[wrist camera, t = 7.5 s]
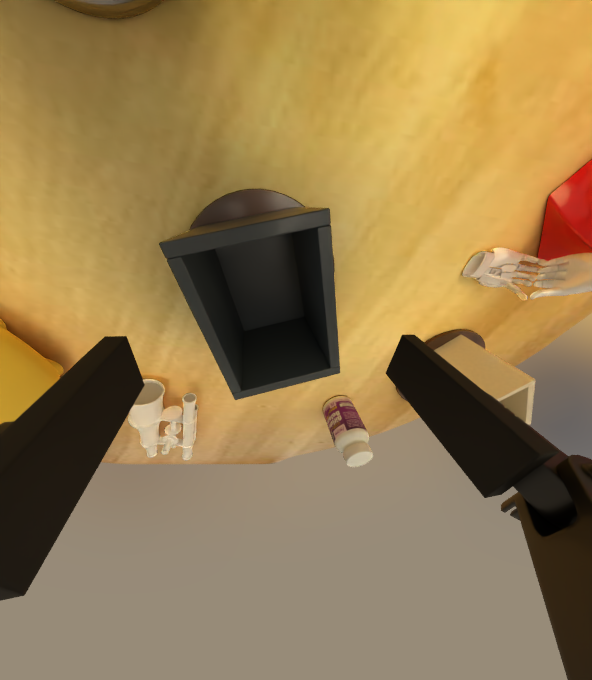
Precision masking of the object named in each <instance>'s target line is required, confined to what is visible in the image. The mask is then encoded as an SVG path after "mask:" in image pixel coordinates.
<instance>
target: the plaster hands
mask: <svg viewBox="0 0 592 680" xmlns="http://www.w3.org/2000/svg"><path fill="white" fill-rule="evenodd" d="M492 251H493V252H491V253H490V252H486V251H481V252H479V253H477V255H474V256H473V257H472V258H471V259H470V260H469V262H468V263H467V265H466V266H465V268H464V270H463V273H462V276H464V277H471V278H474V279H475V280H477V281H479V284H481V285H483V286H486V287H506V288H507V289H509V290H511V291H512V292H514V293H515V294H516V293H517V294H518V295H517V296H518V297H519V298H520V299H521V300H527V299H528V296H527V295H526V294H525V293H524V292H523V291H521V288H519V287H518V286H516V285H515V284H523V285H525V286H528V287H530V286H531V285H532V282H531V281H535V280H536V279H537V280H538V281H535V282H534V283H533V286H535V287H541V288H547V289H542V290H538V291H536V292H534V293H532V294H531V295H530V299H535V298H537V297H543V296H565V295H570V294H578V293H584V292H589V291H592V253H578V254H572V255H567V256H563V257H559V258H555V259H551V260H549V261H546V260H544V259H540V260H539V258H535V257H532V256H529V255H528V254H522V253H519V252H516V251H513V250H510V249H507V248H499V247H498V248H493V249H492ZM524 260H525V261H528V262H531V263H537V264H539V265H541V266H546V265H547V266H546V267H544V268H538V267H532V266H525V265H523V264H518V263H519V262H520V261H524ZM507 263H508V264H507ZM512 264H513V265H512ZM491 267H495V268H491ZM497 268H501V269H497ZM514 270H518V271H522V270H523V271H529V272H537V273H540V274H539V275H537V277H536V276H535V275H529V274H524V273H520V272H517V271H514ZM499 276H500V277H499ZM513 277H517V278H522V279H529V280H530V281H528V280H524V281H523V280H519V279H512V278H513ZM542 279H556V280H542ZM513 283H514V284H513Z"/></svg>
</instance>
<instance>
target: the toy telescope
mask: <svg viewBox="0 0 592 680" xmlns="http://www.w3.org/2000/svg"><path fill="white" fill-rule="evenodd" d="M143 381H144V384H145V385H144V387H143V389H142V391H141V392H140V394H139V396H138V398H137V399H136V401H135V403H134V405H133V406H132V408H131V410H130V412H129V413H130V414H129V416H128V422H129V424H130V426H132V427H133V428H135V429H137V430H138V431H139V432H140V437H141V441H140V444H141V446H142V447H143V448H145V449H146V450H147V457H149V458H152V457H154V456H156V455H157V453H158V450H157V444H160V445H164V447H163V449H162V451H161V453H162V454H164V455H166V454H168V452H169V450H170V448H171V447H172V448H175V447H176V446H182V447H183V454H182V459H183V460H185V461H186V460H190V459H191V458H192V456H193V452H192V447H193V445H194V441H195V440H196V432H197V430H196V422H197V411H198V405H197V404H195V402H196V400H197V396H196V395H195V394H194V393H187V394H185V395H184V396H183V398H182V401H183V403H184V408H183V410H182V408H181V407H179V406H170V407H168V408H166V409H165V408H164V406H163V396H164V393H165V387H164V385H163V384H162V383H161V382H160V381H158V380H154V379H144V380H143ZM182 413H183V415H182ZM161 421H169V422H170V423H169V425H166V428H164V429H165V431H164V432H166V433H165V434H167V435H166V436H163V437H160V434H159V424H160V422H161ZM177 422H178V423H177ZM179 423H182V424H183V439H178V438H176V434H178V433H179V432H181V431H180V430H181V429H182V428H181V427H182V426H181V424H179ZM168 435H169V436H168Z"/></svg>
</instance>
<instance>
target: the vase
mask: <svg viewBox="0 0 592 680" xmlns="http://www.w3.org/2000/svg"><path fill="white" fill-rule="evenodd" d="M578 253H592V159H591V160H590V161H589V162H588V163H587V164H586V165H584V166H583V167H582V168H581V169H580V170H578V171H577V172H576V173H575V174H574V175H573V176H571V177H570V178H569V179H568V180H567V181H565V182H564V183H563V184H562V185H561V186H560V187H558V188H557V189H556V190H555V191H554V192H552V193H551V194H550V195H549V197H548V201H547V207H546V213H545V219H544V225H543V231H542V236H541V242H540V247H539V252H538V258H539V260H540V259H544V260H546V261H549V260H551V259H555V258H559V257H563V256H567V255H572V254H578Z"/></svg>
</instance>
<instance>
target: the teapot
mask: <svg viewBox="0 0 592 680" xmlns="http://www.w3.org/2000/svg"><path fill="white" fill-rule="evenodd" d="M62 373H63V368H62V366H61V365H60V364H59V363H57V362H55V361H53V360H50V359H45V358H44V357H43V356H41V355H40V354H39V353H38V352H37V351H35V350H34V349H33V348H32V347H30V346H29V345H28V344H26V343H25V342H23V341H22V340H21V339H19V338H18V337H16V336H15V335H13V334H12V333H10V332H9V331H7V327H6V325H5V323H4V322H3V321H2V320H1V319H0V424H2V423H4V422H12V421H15V420H16V419H17V418H18V417H19V416H20V415H21V414H22V413H24V412H25V411H26V410H27V409H28V408H29V407H30V406H31V405H32V404H33V403H34V402H35V401H36V400H37V399H39V398H40V397H41V396H42V395H43V394H44V393H45V392H46V391H47V390H48V389H49V388H50V387H51V386H53V385H54V384H55V383H56V382H57V381H58V380H59V379H60V376H59V375H61V374H62Z"/></svg>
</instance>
